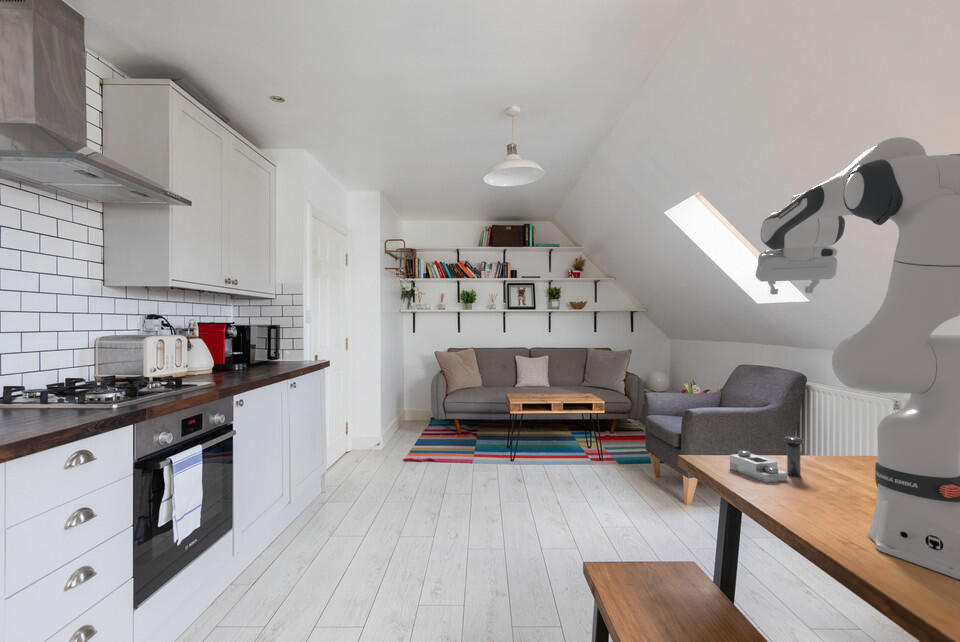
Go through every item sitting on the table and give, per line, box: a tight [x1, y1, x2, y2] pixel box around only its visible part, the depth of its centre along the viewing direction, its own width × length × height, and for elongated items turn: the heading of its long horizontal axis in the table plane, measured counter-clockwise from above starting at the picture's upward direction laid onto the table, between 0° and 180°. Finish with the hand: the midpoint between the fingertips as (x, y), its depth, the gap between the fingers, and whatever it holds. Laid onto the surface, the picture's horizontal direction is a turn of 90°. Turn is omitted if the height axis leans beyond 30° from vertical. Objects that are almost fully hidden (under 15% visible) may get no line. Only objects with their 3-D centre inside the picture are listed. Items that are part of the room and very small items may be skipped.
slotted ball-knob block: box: [729, 450, 788, 484], centre depth 126 cm, size 12×7×5 cm, turn 14°
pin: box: [783, 436, 804, 478], centre depth 125 cm, size 4×4×10 cm
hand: (791, 293), depth 140 cm, fingers open, 8 cm apart
